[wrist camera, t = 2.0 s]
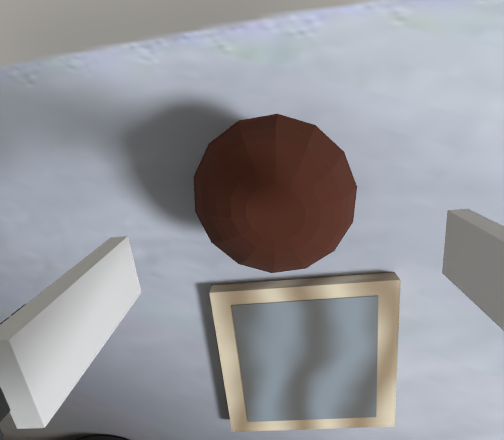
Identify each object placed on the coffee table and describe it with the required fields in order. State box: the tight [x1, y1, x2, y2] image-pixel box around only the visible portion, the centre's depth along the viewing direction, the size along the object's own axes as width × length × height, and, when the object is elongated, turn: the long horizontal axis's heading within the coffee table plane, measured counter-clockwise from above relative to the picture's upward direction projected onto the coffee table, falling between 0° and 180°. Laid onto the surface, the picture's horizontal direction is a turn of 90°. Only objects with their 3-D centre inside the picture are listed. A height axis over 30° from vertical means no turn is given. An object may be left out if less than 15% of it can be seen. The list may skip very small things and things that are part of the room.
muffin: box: [194, 114, 357, 273], centre depth 24 cm, size 12×11×10 cm
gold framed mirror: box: [209, 272, 400, 432], centre depth 34 cm, size 18×18×2 cm
